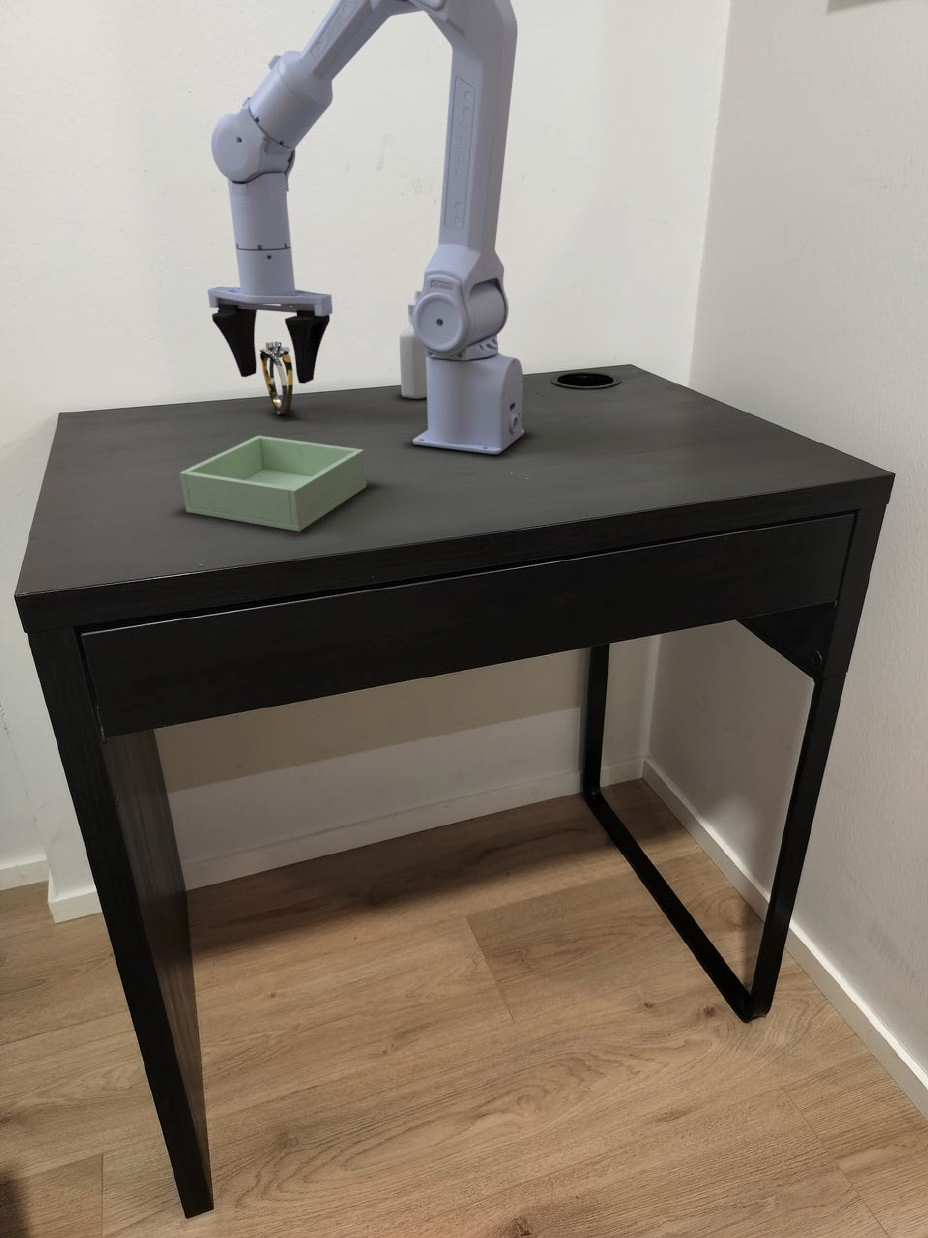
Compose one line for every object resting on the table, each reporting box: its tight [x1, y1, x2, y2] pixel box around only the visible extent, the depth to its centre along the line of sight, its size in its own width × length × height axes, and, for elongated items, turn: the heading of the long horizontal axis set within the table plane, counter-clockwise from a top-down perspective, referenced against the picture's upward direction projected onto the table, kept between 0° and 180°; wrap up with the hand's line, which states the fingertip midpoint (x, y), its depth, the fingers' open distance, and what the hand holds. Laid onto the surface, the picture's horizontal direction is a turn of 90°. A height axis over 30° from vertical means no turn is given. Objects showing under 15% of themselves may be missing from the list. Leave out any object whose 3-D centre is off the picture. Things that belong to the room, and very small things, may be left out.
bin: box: [179, 435, 367, 532], centre depth 76 cm, size 11×11×4 cm
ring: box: [258, 341, 294, 416], centre depth 99 cm, size 7×3×8 cm, turn 24°
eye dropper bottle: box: [399, 290, 427, 400], centre depth 105 cm, size 4×6×12 cm
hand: (277, 378), depth 99 cm, fingers open, 7 cm apart
